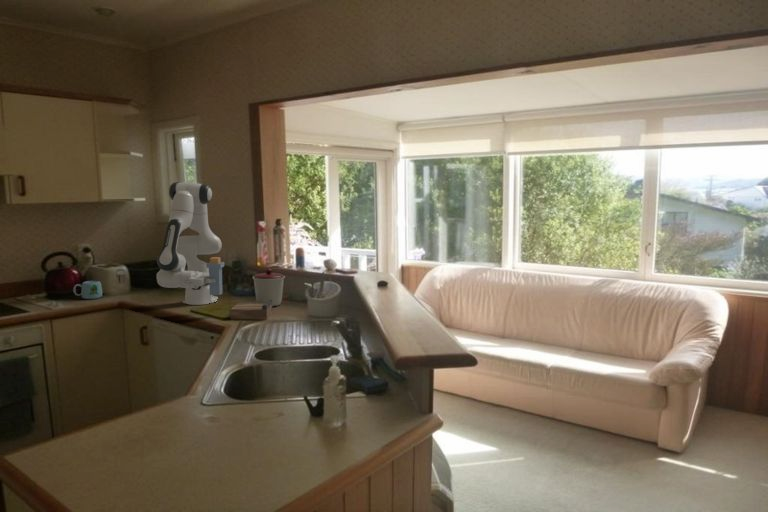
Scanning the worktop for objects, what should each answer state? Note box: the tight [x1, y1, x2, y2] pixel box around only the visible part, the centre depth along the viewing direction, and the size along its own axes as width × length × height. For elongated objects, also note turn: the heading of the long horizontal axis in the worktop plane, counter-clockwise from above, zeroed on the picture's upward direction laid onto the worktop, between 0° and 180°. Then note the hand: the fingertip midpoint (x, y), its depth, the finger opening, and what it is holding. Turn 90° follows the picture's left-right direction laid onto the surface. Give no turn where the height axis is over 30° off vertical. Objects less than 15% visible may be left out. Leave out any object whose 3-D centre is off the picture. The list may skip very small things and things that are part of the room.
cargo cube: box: [209, 256, 222, 264], centre depth 256 cm, size 4×4×4 cm
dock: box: [229, 300, 273, 320], centre depth 260 cm, size 16×18×7 cm
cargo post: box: [206, 261, 225, 296], centre depth 257 cm, size 7×7×16 cm
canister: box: [252, 268, 286, 308], centre depth 286 cm, size 18×18×21 cm
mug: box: [72, 280, 103, 300], centre depth 300 cm, size 15×11×10 cm
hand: (217, 279), depth 257 cm, fingers closed on cargo post, 5 cm apart
